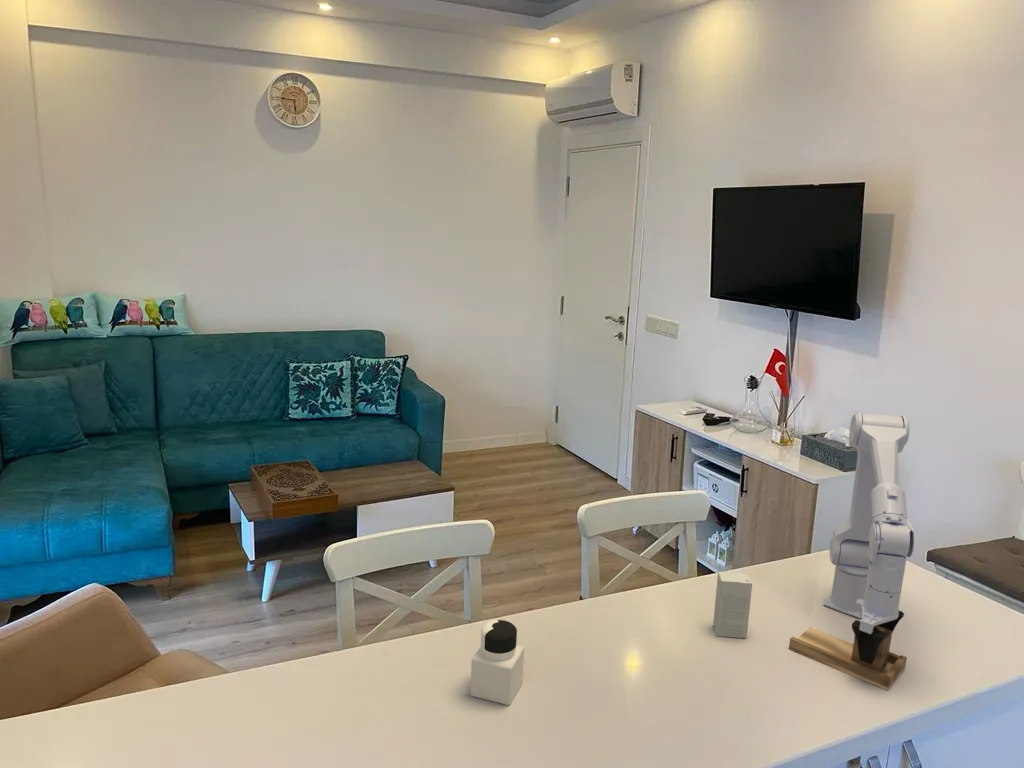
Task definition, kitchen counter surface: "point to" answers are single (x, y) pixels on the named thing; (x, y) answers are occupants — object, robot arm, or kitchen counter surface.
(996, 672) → the kitchen counter surface
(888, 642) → the cabinet block
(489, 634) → the medicine bottle
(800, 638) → the cleat board
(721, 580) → the skincare box
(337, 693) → the kitchen counter surface
